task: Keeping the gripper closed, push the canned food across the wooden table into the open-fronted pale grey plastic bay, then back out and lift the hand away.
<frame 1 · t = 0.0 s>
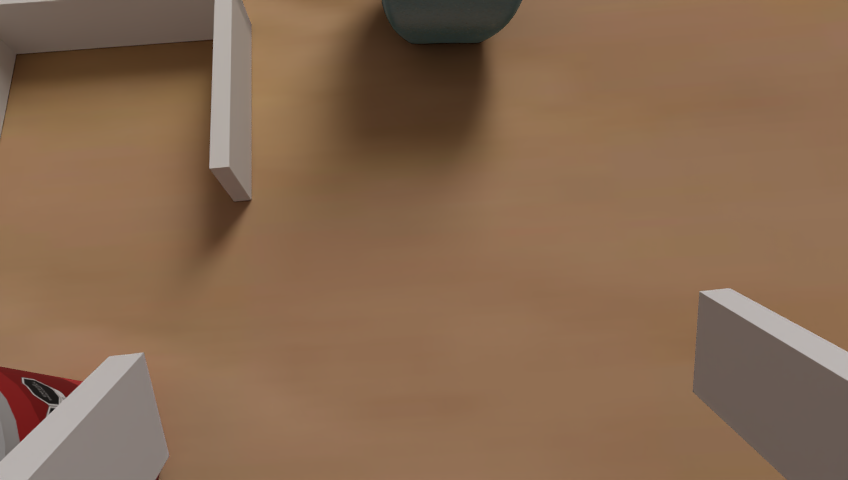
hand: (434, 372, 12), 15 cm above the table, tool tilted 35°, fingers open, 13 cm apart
bay: (120, 117, 32), on the table
canned food: (87, 466, 26), on the table
flower pot: (444, 19, 36), on the table
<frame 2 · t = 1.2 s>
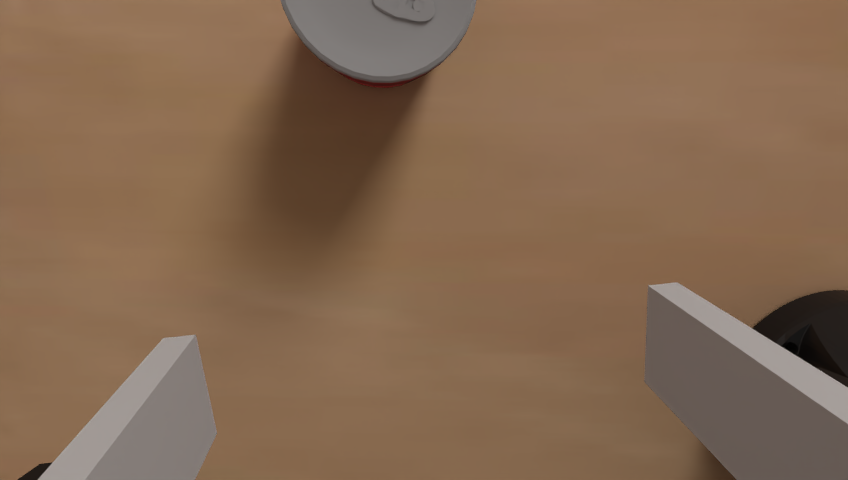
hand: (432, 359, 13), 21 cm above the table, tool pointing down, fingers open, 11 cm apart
canned food: (378, 20, 31), on the table
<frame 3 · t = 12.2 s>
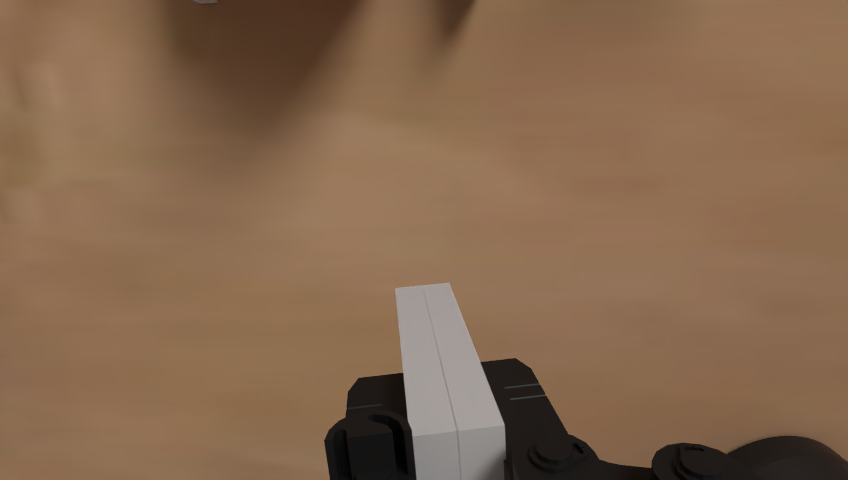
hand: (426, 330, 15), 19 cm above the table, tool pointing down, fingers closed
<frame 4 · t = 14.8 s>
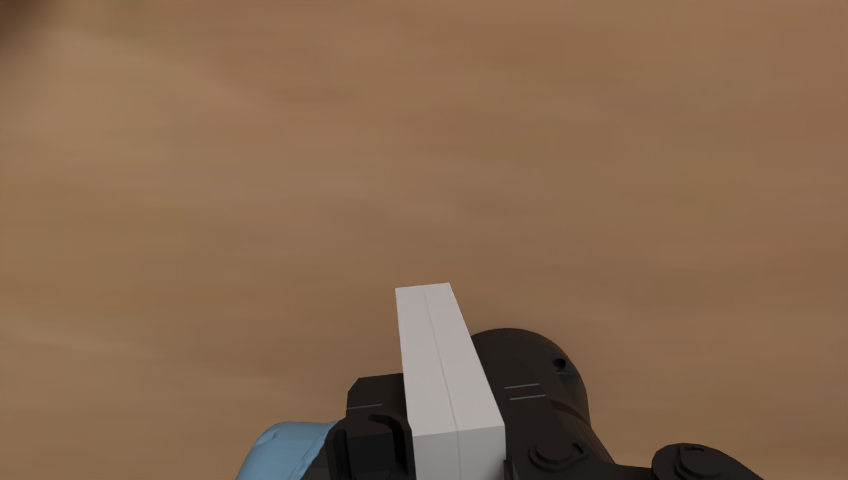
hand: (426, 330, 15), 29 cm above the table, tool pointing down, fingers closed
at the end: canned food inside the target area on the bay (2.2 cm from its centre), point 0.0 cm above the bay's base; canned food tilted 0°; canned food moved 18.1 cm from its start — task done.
